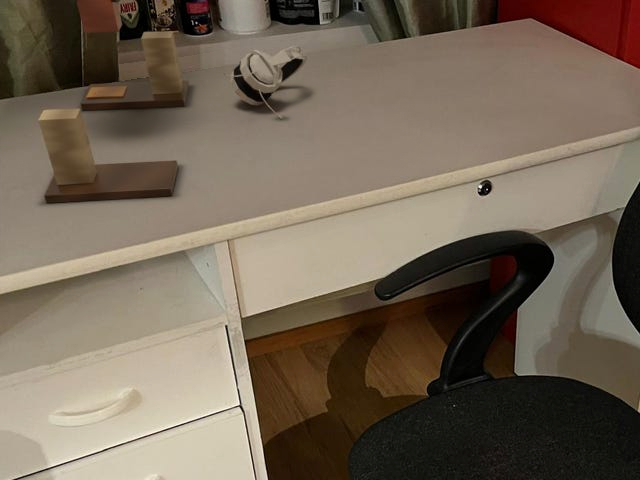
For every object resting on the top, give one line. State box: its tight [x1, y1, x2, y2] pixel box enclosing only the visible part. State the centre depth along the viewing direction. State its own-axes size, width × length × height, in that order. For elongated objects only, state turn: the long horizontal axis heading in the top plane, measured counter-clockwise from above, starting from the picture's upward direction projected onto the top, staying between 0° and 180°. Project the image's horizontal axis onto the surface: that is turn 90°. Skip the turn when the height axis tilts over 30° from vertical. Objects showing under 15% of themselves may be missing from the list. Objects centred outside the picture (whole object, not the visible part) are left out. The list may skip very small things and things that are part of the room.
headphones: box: [223, 45, 308, 119], centre depth 122 cm, size 8×10×20 cm
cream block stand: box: [37, 108, 179, 204], centre depth 101 cm, size 14×8×9 cm, turn 100°
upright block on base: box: [80, 30, 190, 111], centre depth 124 cm, size 14×8×9 cm, turn 100°
